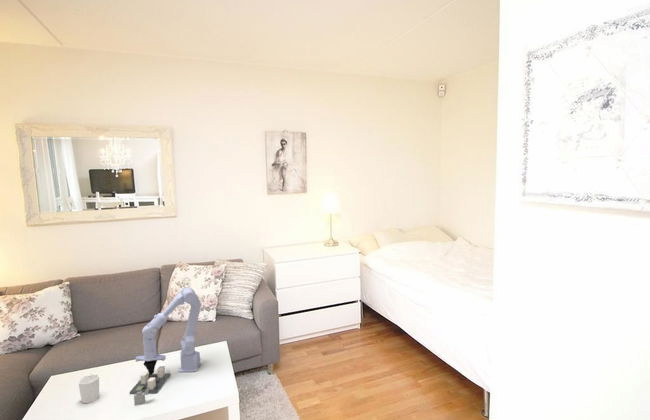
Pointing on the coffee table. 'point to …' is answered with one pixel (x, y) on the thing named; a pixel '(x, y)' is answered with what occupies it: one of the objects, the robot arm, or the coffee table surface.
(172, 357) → the coffee table surface
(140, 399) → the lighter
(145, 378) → the switch
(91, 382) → the white cup
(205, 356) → the coffee table surface
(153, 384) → the switch
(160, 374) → the switch
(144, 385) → the switch unit
